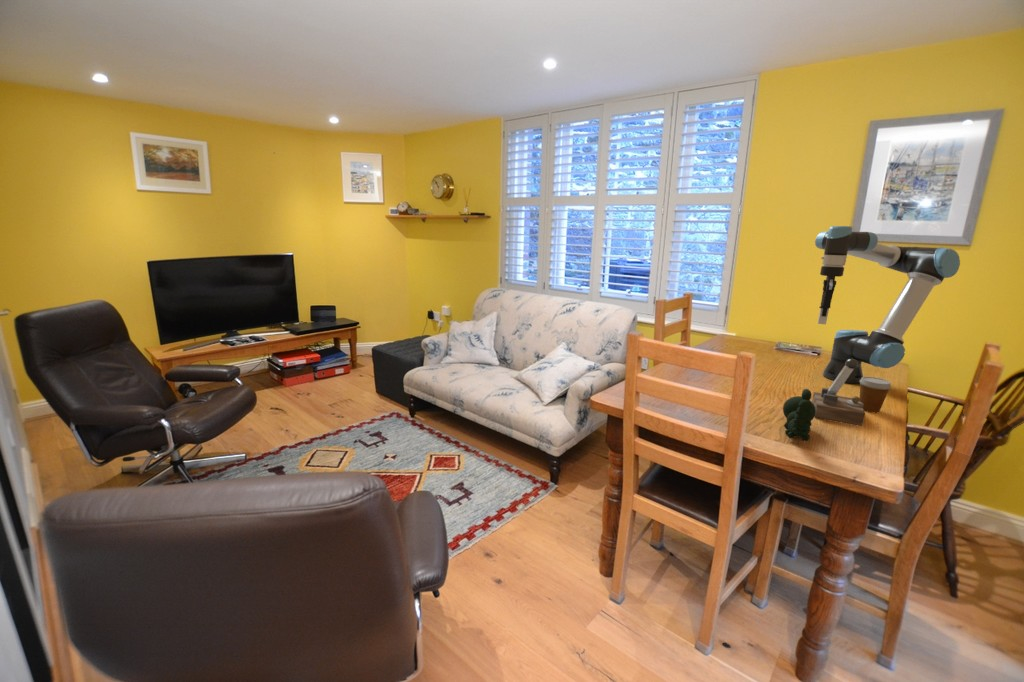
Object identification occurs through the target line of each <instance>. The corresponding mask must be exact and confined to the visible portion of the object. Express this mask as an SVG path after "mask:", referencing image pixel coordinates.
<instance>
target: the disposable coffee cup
mask: <svg viewBox="0 0 1024 682" xmlns="http://www.w3.org/2000/svg"><path fill="white" fill-rule="evenodd" d="M859 387H860V389H859V398H860V401H859V402H861V403H863V404H864V405H863V407H862V408H863V410H864V412H866V411H868V412H867V413H871V412H875V413H874V414H877V412H879V413H880V411H881V408H882V406H883V404H884V402H885V400H886V397H887V395H888V393H889V391H890V390H891V388H892V385H891V382H890V381H889V380H887V379H884V378H880V377H874V376H863V377H862V378H861V380H860V383H859Z"/></svg>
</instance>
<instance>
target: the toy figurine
mask: <svg viewBox="0 0 1024 682" xmlns="http://www.w3.org/2000/svg"><path fill="white" fill-rule="evenodd" d="M811 399H812V392H811V389H808V388H805V389H802V393H801V395H800V396H799V395H798V396H795V395H794V396H792V397H789V398H788V399H787V400H785V401H784V404H783V407H782V411H783V415H784V417H785V418H786V422H785V423H784V424H783V425H784V426H783V427H784V429H786V430H785V431H784V434H785V435H787V437H788V438H790V439H794V438H795V437H796V438H801V440H802V441H803V442H808V441H809V440H810V437H811V436H810V432H811V426H812V425H813V424H812V421H813V420H814V418H815V413H816V409H815V406H814V404H813V403H812V401H811Z"/></svg>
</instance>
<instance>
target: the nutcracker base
mask: <svg viewBox="0 0 1024 682" xmlns="http://www.w3.org/2000/svg"><path fill="white" fill-rule="evenodd" d="M828 389H829V388H827V387H822V388H821V392H817V391H814V392H813V395H812V398H811V399H812V401H811V402H812V403H813V404H814V406H815V409H816V413H815V417H814V418H815V419H820V420H824V419H825V421H830V420H831V422H835V421H836V422H837V423H841V422H842V423H841V424H846V423H847V424H846V425H851V424H852V426H857V425H858V426H857V427H863V424H864V421H865V417H866V411H864V410H863V408H862V407H863V405H864V404H863V403H861V402H859V401H860V396H857V395H855V396H853V397H848V396H841V395H837V394H836V395H832V394H826V393H827V391H828Z"/></svg>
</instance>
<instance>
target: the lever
mask: <svg viewBox="0 0 1024 682" xmlns="http://www.w3.org/2000/svg"><path fill="white" fill-rule="evenodd" d="M857 367H858V362H857V360H855V359H848V360H847V361H846V362H845V366H844V368H843V369H842V370H841V372H840V373H839V375H838V376H837V378H836V379H835V380H833V382H832V384H831V385H830V386H829V388H828V391H827V393H826V394H832V395H837V394H838V393H839V391H840V389H841V388H842V387H843V386H844V384H845V381H846V380H847V378H848V377H849V375H850V374H851V373H852V371H853V370H854V369H855V368H857Z"/></svg>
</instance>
